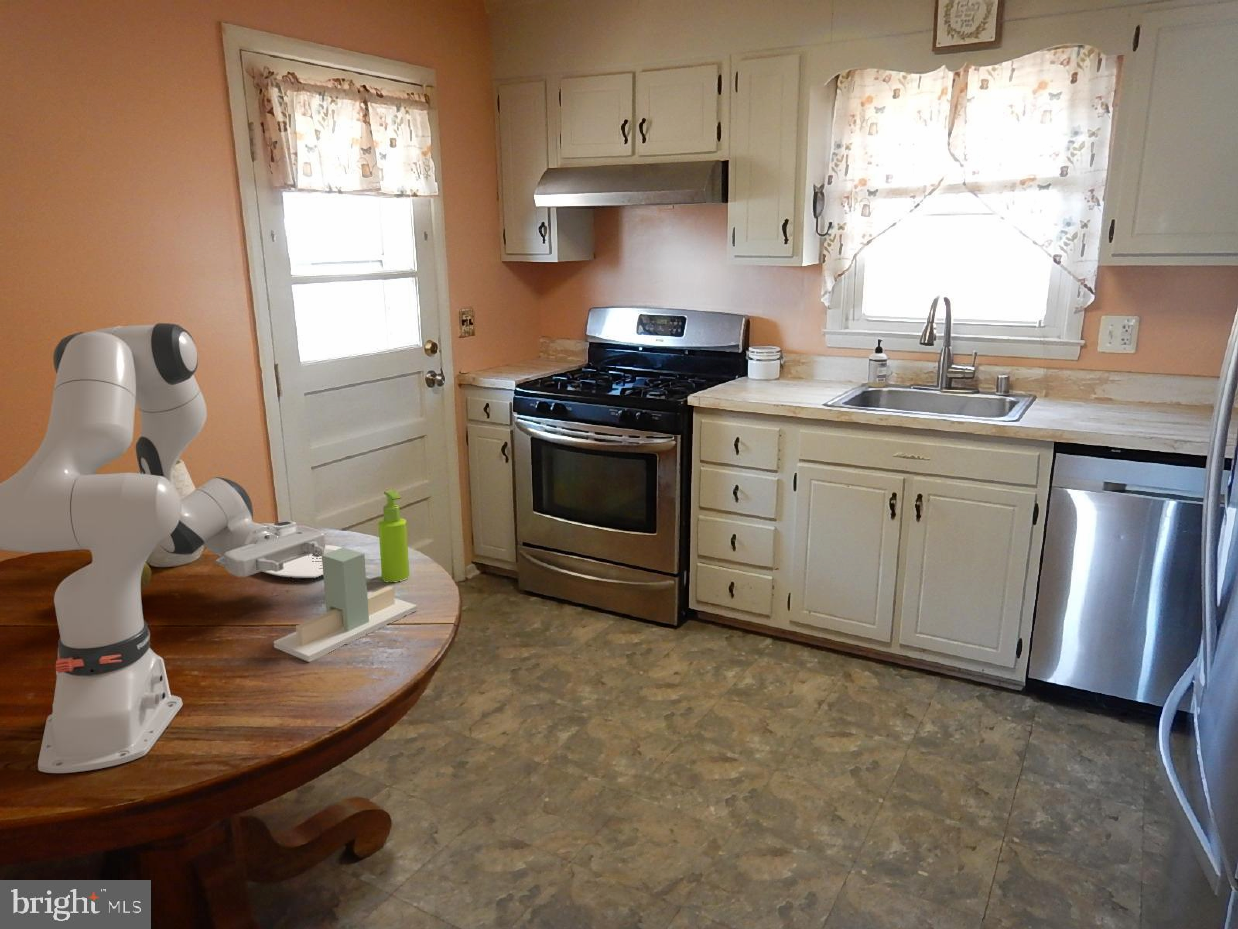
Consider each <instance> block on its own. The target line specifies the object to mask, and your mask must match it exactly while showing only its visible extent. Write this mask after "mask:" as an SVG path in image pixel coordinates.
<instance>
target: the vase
mask: <svg viewBox="0 0 1238 929" xmlns="http://www.w3.org/2000/svg"><path fill="white" fill-rule="evenodd" d="M138 473H140V469H139V468H138ZM140 474H141V473H140ZM172 476H173V481H174V485H175V488H176V490H177V492H178V494H179V496H180V500H181V499H183V498H184V497H186V496H187V495H189V494H190V493H192V492H193V491H195V490H196V489H197V488H196V486H195V484H194V482H193V479H192V477H191V475H190V473H189V470H188V468H187V466H186V464H185V462H184V460H182V459H181V458H178V460H177V462H176V464H175V466H174V469H173V475H172ZM204 549H205V547H204V546H203V545H202V546H201V547H200V548H199V549H197V550H196V551H195V552H194V553H193V554H187V555H180V554H172V553H169V552H167V551H166V550H164V549H163V548H162V547H161V545H160V544H159V545H158V546H157V547H156V548H155V549H154V550H153V551H152V553H151V554H150V556H149V557H148V559H147V561H146V563H147V564H148V566H151V567H154V568H172V567H180V566H184V565H187V564H191V563H194V562H195V561H197V560H198V559H199V558H200V557H201V556H202V553H203V551H204Z"/></svg>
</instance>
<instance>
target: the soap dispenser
mask: <svg viewBox="0 0 1238 929" xmlns="http://www.w3.org/2000/svg"><path fill="white" fill-rule="evenodd" d="M383 494H384V495H386V504H385V505H384V506H382V507H383V510H382V511H383V519H380V520H379V521H378V523H377V524H378V539H379V553H380V568H381V569H380V570H381V580H382V579H383V580H385V581H388V582H394V581H395V582H396V581H400V580H403V579H405V578H408V576H409V577H410V565H409V550H408V549H409V546H408V531H407V530H408V529H407V520H406V519H405V518H402V517H401V515H400V514H401V512H400V511H401V510H400V505H399V504H397V503H396V500H401V499H402V498H403V497H402V496H401V495H400V494H399V492H397V491H395V490H393V489H389V490H384V491H383ZM408 579H409V578H408ZM383 580H382V581H383ZM385 581H384V582H385ZM388 582H387V583H388Z"/></svg>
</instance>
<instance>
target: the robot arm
mask: <svg viewBox="0 0 1238 929" xmlns="http://www.w3.org/2000/svg"><path fill="white" fill-rule="evenodd" d="M58 342H59V343H58V344H57V345H56V347H55V349H54V352H53V357H52V358H53V361H52V362H53V367H54V370H55V374H56V376H55V381H54V388H53V392H52V402H51V409H50V414H49V419H48V424H47V428H46V431H45V432H46V433H45V435H44V438H43V440H42V442H41V444H40V446H39V448H38V449H37V451H36V452H35V453H34V454H33V456H32V457H31V458H30V459H29V460H28V462H27V463H26V464H25V465H24V466H22V468H21V469H19V471H16V473H15V474H13V475H12V476H10V477H8V478H7V479H6V480H4V481H3V482H1V483H0V550H1V551H2V550H3V551H10V552H11V551H12V552H21V553H33V554H37V553H38V554H39V553H50V552H65V551H77V550H87V551H90V553H91V557H92V562H91V563H89V564H88V565H86V566H84V567H82V568H80V569H78V570H75V571H74V572H73V573H71V574H70V575H68V576H67V577H66V578H64V579H63V580H62V581H61V582H60V583H59V584H58V586H57V588H56V590H55V592H54V596H53V602H54V608H55V616H56V619H57V620H56V621H57V626H58V627H57V628H58V631H59V636H60V637H59V639H58V642H57V644H58V645H57V646H58V648H57V660H56V662H55V670H56V671H55V674H56V681H55V682H56V683H55V688H54V695H53V696H54V697H53V703H52V704H51V711H52V713H51V714H49V715H48V716H47V718H46V722H45V727H44V731H43V732H44V733H43V737H42V742H41V747H40V751H39V757H38V760H37V769H38V770H37V771H39V772H42V773H48V774H49V773H50V774H68V773H69V774H71V773H78V772H86V771H92V770H93V771H94V770H99V769H103V768H104V769H105V768H109V767H113V766H114V767H115V766H118V765H121V764H125V763H127V762H131V761H134V760H136V759H139V758H142V757H144V756H145V755H147V754H148V752H150V750H151V749H152V748H153V746H154V745H155V743H156V742H157V740H158V739H159V738H160V737H161V735H162V734H163V732H164V731H165V729H166V728H167V727H168V726H169V724H170V723H171V721H172V720H173V719H174V718H175V716H176V715H177V713H178V712H179V711H180V710H181V708H182V707H183V705H184V704H183V700H182V698H181V697H180V696H176V695H173V694H171V690H170V686H169V680H168V677H167V676H168V675H167V672H166V667H165V660H164V658H162V657H161V656H160V655H158V654H157V653H155V652H154V650H153V649H152V648H151V639H150V638H151V633H150V629H149V627H148V623H147V622H146V620H144V614H143V604H142V591H141V575H142V571H143V567H144V565H145V563H147V562H146V561H147V559H148V557H149V556H150V554H151V553H152V551H153V550H154V549H155V548H156V547H157V546H158V545H159V544H160V545H161V547H162V548H163V549H164V550H166V551H167V552H169V553H172V554H180V555H187V554H193V553H194V552H195V551H196V550H197V549H199V548H200V547H201V546H202V545H203V546H204V548H205V549H207V550H209V551H210V552H212V553H213V554H214V555H216V556H219V557H218V558H217V559H215V564H216V565H218V566H221V567H225V570H226V572H228V573H229V574H231V575H234V576H235V577H239V578H247V577H249V576H252V575H255V574H257V573H261V572H263V571H271V570H272V571H275V572H277V571H280V570H283V569H284V567H283V564H284V563H287V562H289V561H292V560H295V559H298V558H301V557H304V556H307V555H310V554H313V556H314V557H320V556H322V555H323V554H324V549H325V545H326V536H325V533H324V532H323V531H321V530H319V529H316V528H313V527H309V526H306V525H297V522H296V521H293V520H288V521H281V522H275V523H274V522H273V523H272V522H270V523H269V522H267V523H266V522H262V523H260V522H255V521H253V518H254V509H253V504H252V500H251V498H250V495H249V494H248V492H247V491H246V489H244V487H243V486H241V485H240V484H239V483H237V482H236V481H235V480H234V481H233V480H231V479H228V478H225V477H221V476H220V477H218V476H217V477H213V478H212V479H210V480H209V481H207V482H205V483H204V484H202V485H201V486H199V487H197V488H196V490H195V491H193V492H192V493H190V494H189V495H187V496H186V497H184V498H183V499H181V500H180V496H179V494H178V492H177V490H176V488H175V485H174V481H173V476H172V475H173V469H174V466H175V464H176V462H177V460H178V459H180V457H181V455H182V454H183V452H184V451H185V450H186V449H187V448H188V446H189V445H191V443H192V442H193V441H195V439H196V438H197V437H198V435H199V434H200V433H201V432H202V430H203V427H204V426H205V423H206V421H207V418H208V411H207V409H208V408H207V405H206V401H205V398H204V395H203V393H202V390H201V388H200V386H199V384H198V382H197V379H196V377H195V375H194V374H195V372H196V371H197V369H198V364H199V361H198V360H199V359H198V357H199V356H198V350H197V346H196V344H195V341H194V338H193V337H192V335H191V333H190V332H189V331H187V330H186V329H184V328H183V327H182V326H181V325H179V324H175V323H168V322H167V323H165V322H158V323H156V324H141V325H140V324H137V325H136V324H135V325H127V326H123V325H118V326H110V327H105V328H99V329H95V330H91V331H87V332H84V331H83V332H82V331H79V332H75V333H74V334H73V333H72V334H70V335H68V336H65V337H63V338H62V339H60V341H58ZM136 407H137V408H138V412H139V416H140V423H141V424H140V435H139V438H138V440H137V441H136V443H135V456H136V458H137V459H136V460H137V464H138V470H139V469H140V473H141V474H140V473H139V472H117V473H98V474H97V473H96V472H97V471H98V470H99V469H100V468H102V467H104V466H105V465H107V464H109V463H111V462H113V461H115V460H118V459H119V458H120V457H122V456H123V455H124V454H125V453H126V452H127V450H128V449H129V448H130V446H131V444H132V443H133V440H134V430H135V428H134V427H135V415H136V414H135V412H136ZM95 473H96V474H95Z"/></svg>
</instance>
